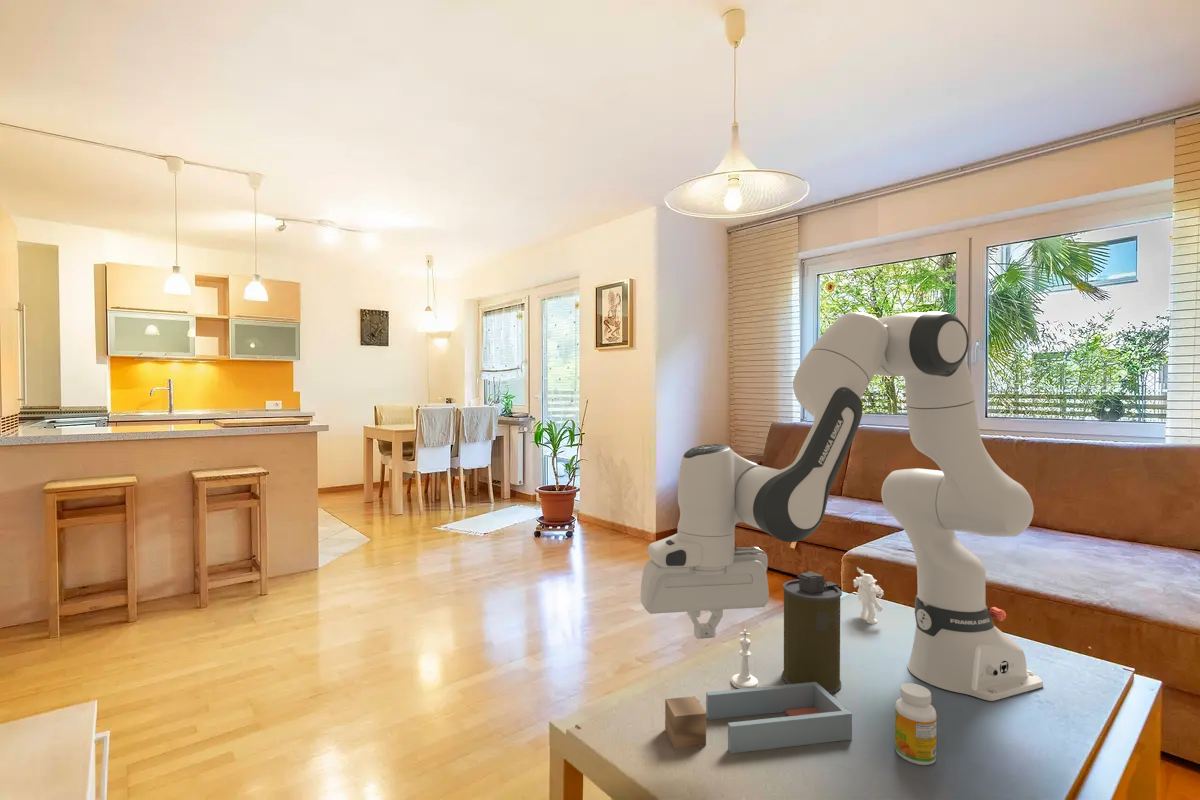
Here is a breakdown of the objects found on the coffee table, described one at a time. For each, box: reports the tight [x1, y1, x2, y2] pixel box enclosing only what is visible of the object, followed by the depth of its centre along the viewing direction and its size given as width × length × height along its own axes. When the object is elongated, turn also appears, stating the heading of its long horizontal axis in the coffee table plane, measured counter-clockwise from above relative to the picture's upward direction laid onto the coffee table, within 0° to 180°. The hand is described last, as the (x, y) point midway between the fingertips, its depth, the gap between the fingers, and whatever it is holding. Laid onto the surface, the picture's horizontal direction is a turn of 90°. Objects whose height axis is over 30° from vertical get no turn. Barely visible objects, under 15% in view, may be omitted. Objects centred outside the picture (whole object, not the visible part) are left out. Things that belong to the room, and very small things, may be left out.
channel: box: [705, 682, 853, 754], centre depth 91 cm, size 20×10×4 cm, turn 100°
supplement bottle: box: [894, 682, 938, 766], centre depth 84 cm, size 5×5×10 cm
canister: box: [781, 570, 843, 695], centre depth 106 cm, size 11×10×20 cm
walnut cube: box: [664, 695, 707, 750], centre depth 88 cm, size 5×5×5 cm
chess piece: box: [730, 629, 760, 689], centre depth 105 cm, size 5×5×10 cm
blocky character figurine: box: [852, 566, 885, 625], centre depth 135 cm, size 9×4×12 cm, turn 10°
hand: (704, 636), depth 88 cm, fingers closed
